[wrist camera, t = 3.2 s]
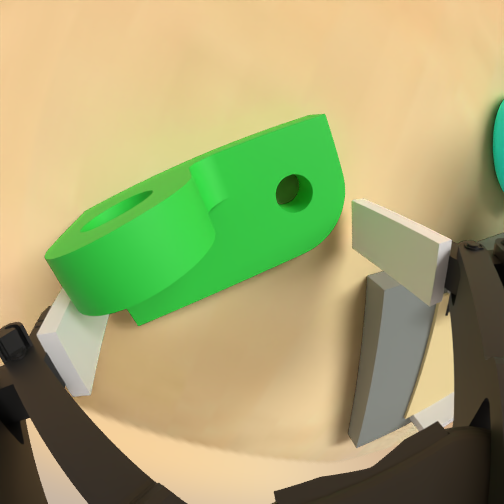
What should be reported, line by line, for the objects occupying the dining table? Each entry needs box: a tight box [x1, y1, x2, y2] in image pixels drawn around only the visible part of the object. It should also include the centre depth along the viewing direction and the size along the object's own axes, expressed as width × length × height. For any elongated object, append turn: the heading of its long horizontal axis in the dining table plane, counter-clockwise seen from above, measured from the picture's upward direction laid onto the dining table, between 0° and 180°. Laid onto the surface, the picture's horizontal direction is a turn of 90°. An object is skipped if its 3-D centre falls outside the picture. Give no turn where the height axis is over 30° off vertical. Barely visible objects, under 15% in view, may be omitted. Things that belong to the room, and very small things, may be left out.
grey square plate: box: [348, 233, 504, 448], centre depth 22 cm, size 18×18×5 cm
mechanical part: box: [45, 114, 345, 326], centre depth 12 cm, size 12×6×8 cm, turn 111°
